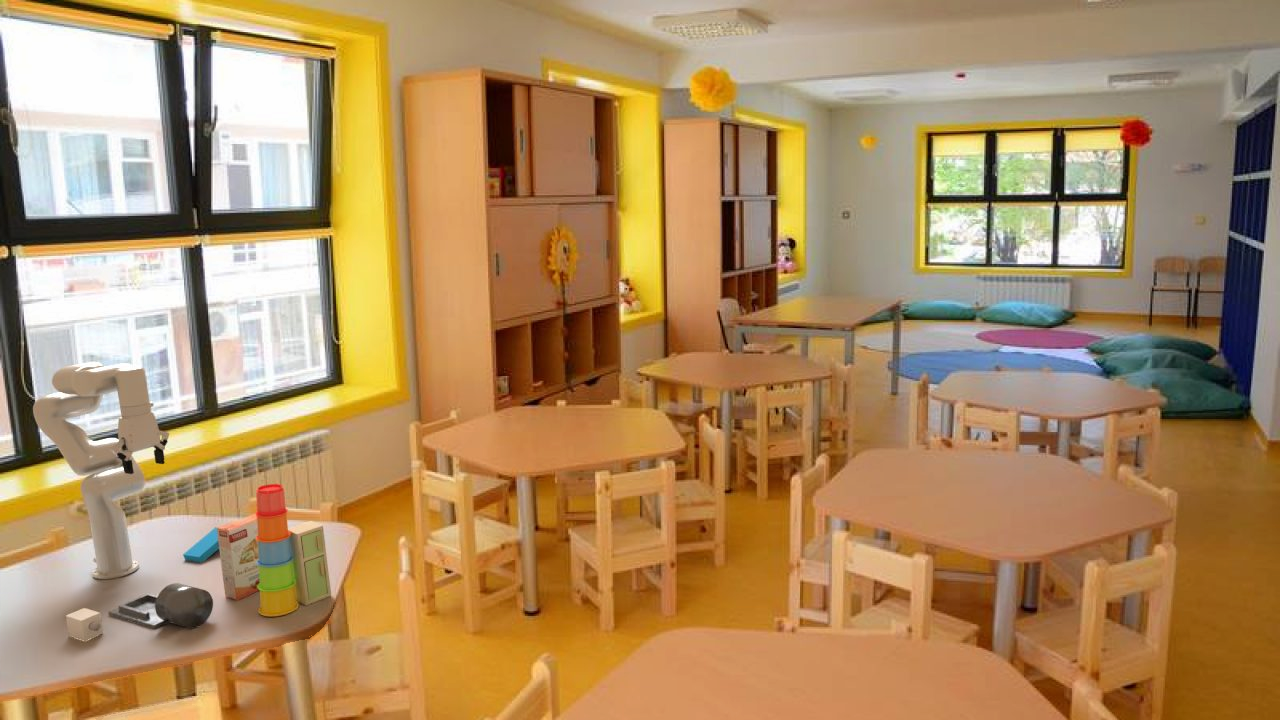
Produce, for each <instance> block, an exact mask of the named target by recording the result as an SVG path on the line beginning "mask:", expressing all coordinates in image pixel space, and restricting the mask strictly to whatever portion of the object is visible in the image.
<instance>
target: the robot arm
mask: <svg viewBox="0 0 1280 720" xmlns="http://www.w3.org/2000/svg"><path fill="white" fill-rule="evenodd" d="M146 377H147V375H146V371H145V369H144V368H143V367H142V366H139V365H132V364H130V363H117V364H114V365H113V364H112V365H106V366H104V365H103V364H102V363H100V362H96V361H89V362H83V363H78V364H73V365H68V366H64V367H62V368H60V369H57V370H56V371H55V373H54V374H53V376H52V379H51V383H52V386H53V388H54V389H55V390H56V392H54V393H50V394H47V395H44V396H42V397H40V398H38V399H37V400H36V401H35V402H34V404H33V407H32V412H33V417H34V420H35V422H36V424H37V426H38V428H39V429H40V430H41V432H42V433H44V435H45V436H46V437H47V438H48V439H50V440H51V441H52V442H53V443H54V444H55V446H56V447H57V448H58V451H59V452H60V454H61V455H62V456H63V458H64V459H65V461H66V463H67V464H68V465H69V467H70V469H71V470H72V471H73V473H74V474H75V475H77V476H80V477H85V476H86V477H85V478H84V479H83V480H82V481H81V483H80V487H79V488H80V489H79V490H80V494H81V496H82V499H83V502H84V504H85V507H86V509H87V511H86V512H87V515H88V519H89V525H90V529H91V530H90V531H91V536H92V543H93V549H94V554H95V557H94V558H93V559H92V561H93V562H94V563H95V564H96V568H94V569H93V570H92V577H93V578H94V579H97V578H98V580H110V579H116V578H120V577H125V576H127V575H129V574H131V573H133V572H136V570H138V569H139V567H140V563H139V561H137V560H135V559H133V556H132V549H131V548H132V547H131V542H130V538H129V537H130V535H129V529H128V525H127V524H128V523H127V517H126V514H125V511H124V510H123V508H121V507H120V506H119V505H117V504H116V503H115V501H118V500H120V499H123V498H127V497H130V496H132V495H136V494H138V493H140V492H142V491H143V490H144V488H145V487H146V478H145V474H144V472H143V470H142V469H141V467H140V466H139V464H138V463H137V461H136V459H135V458H134V456H133V454H134V453H136V452H139V451H143V450H146V449H150V448H154V450H153V454H154V460H155V464H158V465H164V464H166V463H165V453H164V452H165V451H164V450H165V449H166V445H167V444H168V439H169V437H170V432H168V431H163V430H160V429H159V425H158V422H157V419H156V416H155V414H154V412H153V411H152V407H154V403H153V402H152V401H151V402H150V396H149V391H148V390H149V389H148V384H147V378H146ZM57 391H58V392H57ZM115 392H117V397H118V403H119V409H120V410H119V411H120V414H121V415H120V417H118V421H117V422H118V423H117V435H118V437H117V438H116V437H107V438H102V439H99V440H92V439H91V438H90V437H89V436H88V434H87V433H86V431H85V430H84V429H83V428H82V427H80V426H79V425H77V424H75V423H72V422H70V421H68V419H72V418H77V417H81V416H85V415H90V414H92V413H94V412H96V411H97V410H98V408H99V407H100V404H101V402H102V399H103V397H104V395H105V394H110V393H115Z"/></svg>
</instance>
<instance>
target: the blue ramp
mask: <svg viewBox="0 0 1280 720" xmlns="http://www.w3.org/2000/svg"><path fill="white" fill-rule="evenodd" d="M217 528H218V527H214V528H213V529H212V530H210V531H209V532H208V533H207V534H206V535H204V536H203V537H202V538H201V539H200V540H199V541H198V542H196V543H195V544H194V545H193V546H191V547H189V548H188V550H187V551H185V552H184V553H183V554H182V556H183V559H184V560H185V561H187V562H189V561H190V562H195V563H203V561H204V562H205V561H206V560H208V558H210V557H211V556H212V555H213V554H214V553H216V552H217V551H218V550H219V542H218V534H217Z"/></svg>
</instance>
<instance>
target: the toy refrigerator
mask: <svg viewBox="0 0 1280 720" xmlns="http://www.w3.org/2000/svg"><path fill="white" fill-rule="evenodd" d="M288 532H290V537H289V542H290V553H291V555H292V556H293V560H292V571H293V578H294V579H295V580H296V584H295V585H294V589H295V599H296V601H297V602H298V603H300V604H302V605H304V606H309V605H312V604H314V603H317V602H319V601H322V600H324V599H327V598H329V597H331V596H332V589H331V581H330V572H329V566H328V565H329V564H328V557H327V556H328V555H327V548H326V540H325V534H324V533H325V532H324V526H323V524H320V523H318V522H315V521H313V520H310V521H305V522H302V523H300V524H297V525H293V526H290V527H288ZM311 603H312V604H311Z"/></svg>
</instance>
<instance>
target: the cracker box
mask: <svg viewBox="0 0 1280 720" xmlns="http://www.w3.org/2000/svg"><path fill="white" fill-rule="evenodd" d="M255 514H256V513H253V514H251V515H248V516H245V517H242V518H240V519H237V520H234V521H232V522H229V523H227V524H223V525H220V526H218V527H217V534H218V542H219V549H218V550H219V557H220V558H219V559H220V565H221V573H222V579H223V589H224V595H225V597H227V598H230V599H231V600H232V599H233V600H235V601H239V600H241V599H242V598H245V597H248V596H250V595H252V594H254V593H257V592H258V591H259V592H260V590H259V589H258V584H259V583H260V577H259V565H258V564H257V561H258V560H259V551H258V541H257V540H256V537H257V536H258V525H257V516H256V515H255Z"/></svg>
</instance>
